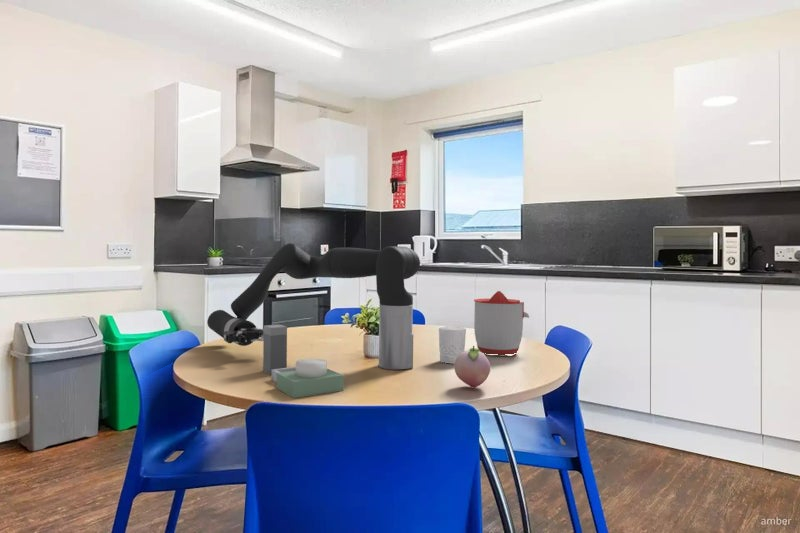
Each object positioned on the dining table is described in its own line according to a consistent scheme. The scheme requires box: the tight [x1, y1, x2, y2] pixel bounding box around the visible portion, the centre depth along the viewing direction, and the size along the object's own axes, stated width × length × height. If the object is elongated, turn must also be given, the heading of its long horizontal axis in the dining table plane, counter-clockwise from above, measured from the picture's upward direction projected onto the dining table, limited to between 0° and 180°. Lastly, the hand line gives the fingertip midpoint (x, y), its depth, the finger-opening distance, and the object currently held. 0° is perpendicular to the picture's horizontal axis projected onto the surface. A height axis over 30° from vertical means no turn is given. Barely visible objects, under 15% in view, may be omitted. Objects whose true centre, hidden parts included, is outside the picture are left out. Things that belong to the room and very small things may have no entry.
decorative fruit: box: [453, 345, 491, 388], centre depth 125 cm, size 9×8×10 cm
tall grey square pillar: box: [262, 324, 288, 376], centre depth 138 cm, size 5×4×12 cm
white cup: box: [438, 325, 467, 364], centre depth 155 cm, size 8×8×10 cm
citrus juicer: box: [473, 290, 530, 355], centre depth 168 cm, size 16×17×20 cm
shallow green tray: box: [270, 357, 345, 399], centre depth 125 cm, size 18×12×6 cm, turn 35°
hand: (259, 339), depth 148 cm, fingers open, 8 cm apart
